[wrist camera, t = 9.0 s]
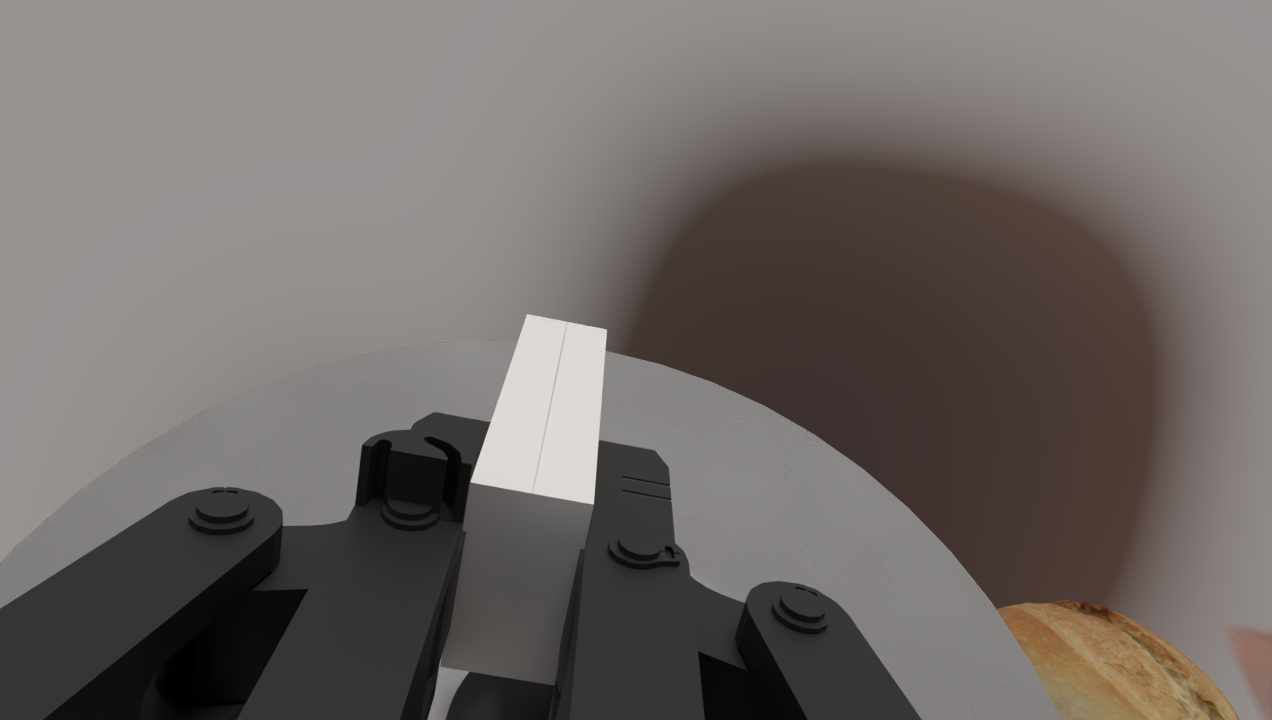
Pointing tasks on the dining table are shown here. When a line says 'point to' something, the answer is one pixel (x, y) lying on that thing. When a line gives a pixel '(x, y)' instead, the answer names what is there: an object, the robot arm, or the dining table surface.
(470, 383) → the cooker lid
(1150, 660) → the bread roll
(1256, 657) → the dining table surface
